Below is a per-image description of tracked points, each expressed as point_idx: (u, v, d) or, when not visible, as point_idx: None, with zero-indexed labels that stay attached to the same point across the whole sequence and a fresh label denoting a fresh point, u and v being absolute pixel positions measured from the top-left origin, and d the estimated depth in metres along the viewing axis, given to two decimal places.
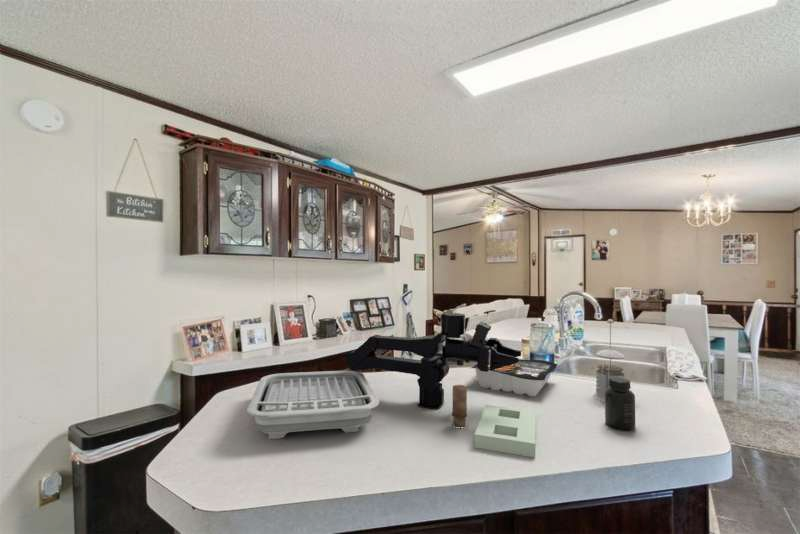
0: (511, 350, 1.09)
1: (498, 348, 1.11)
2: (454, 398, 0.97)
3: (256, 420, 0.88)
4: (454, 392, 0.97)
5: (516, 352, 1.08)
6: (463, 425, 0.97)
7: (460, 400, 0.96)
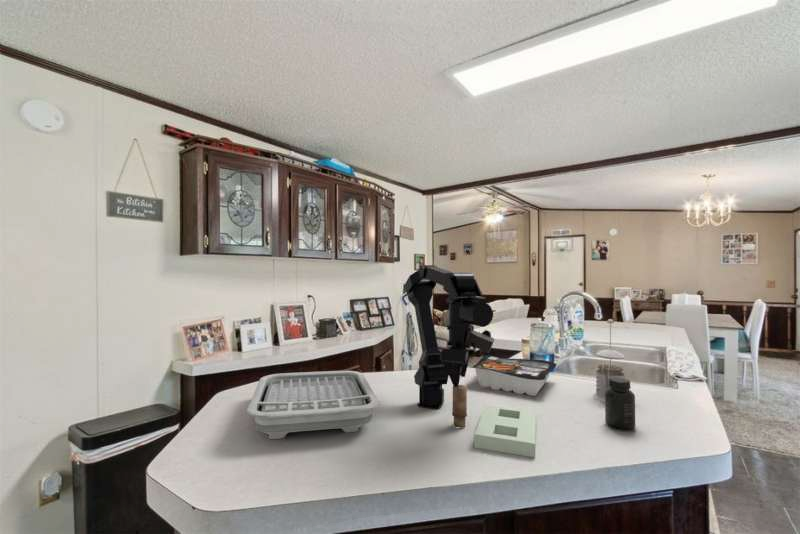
0: (465, 367, 1.02)
1: None
2: (454, 398, 0.97)
3: (256, 420, 0.87)
4: (454, 392, 0.97)
5: (464, 372, 1.02)
6: (463, 425, 0.97)
7: (460, 400, 0.96)
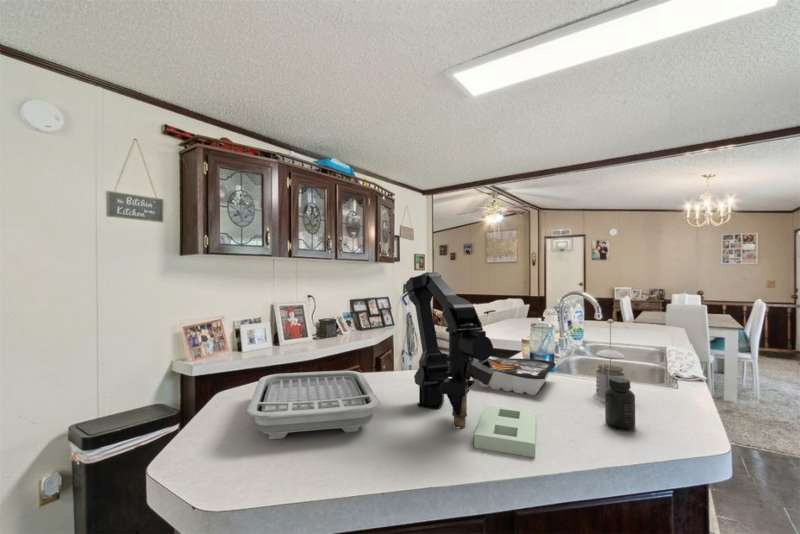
0: None
1: None
2: None
3: (256, 420, 0.87)
4: None
5: None
6: (463, 425, 0.97)
7: None
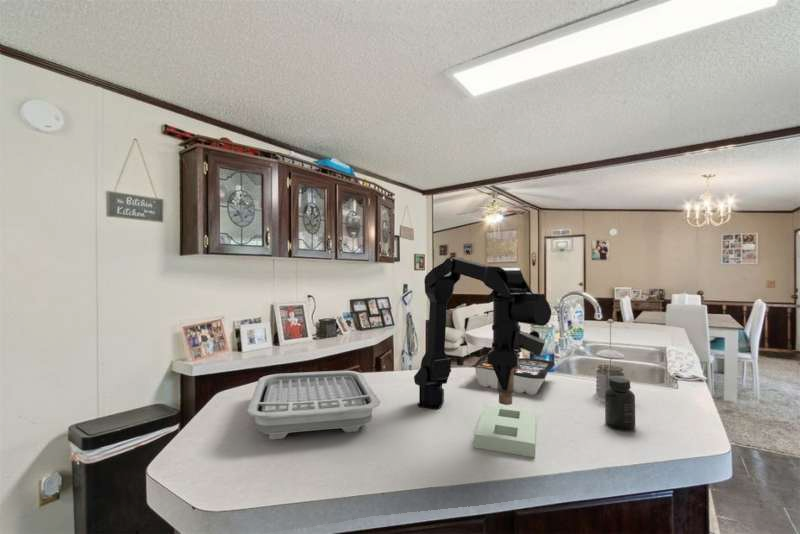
0: None
1: None
2: None
3: (257, 421, 0.87)
4: None
5: None
6: (510, 401, 0.87)
7: None
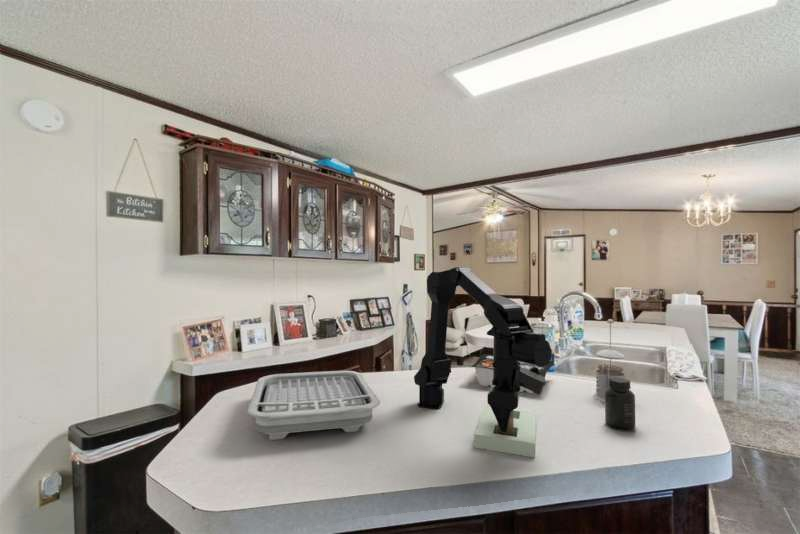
0: None
1: None
2: None
3: (257, 421, 0.87)
4: None
5: None
6: None
7: None
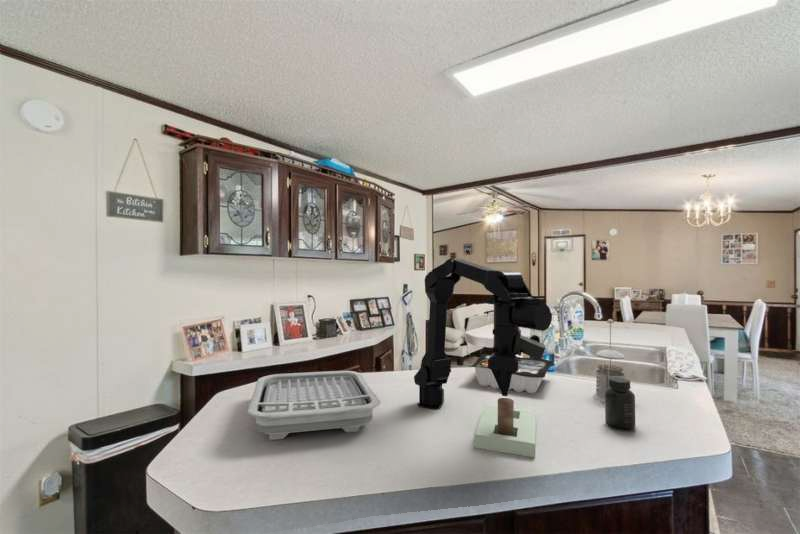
0: None
1: None
2: (500, 413, 0.87)
3: (257, 421, 0.87)
4: (500, 406, 0.87)
5: None
6: None
7: (508, 415, 0.86)
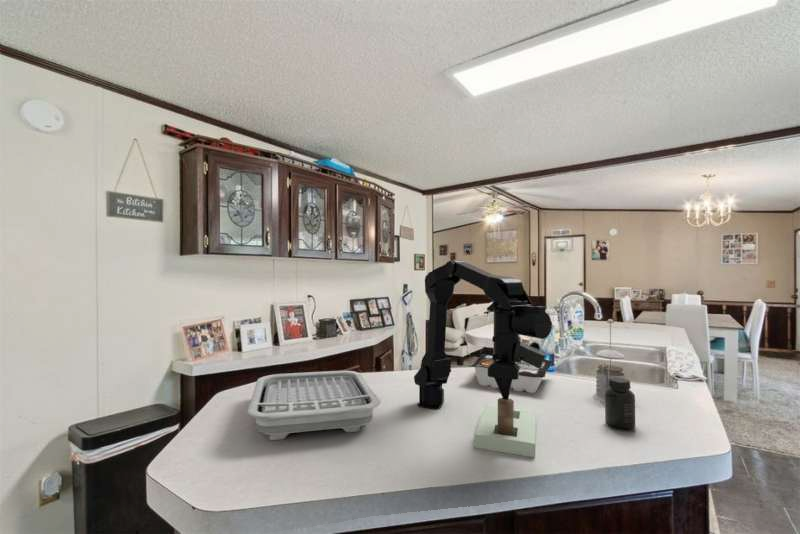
0: None
1: None
2: (500, 413, 0.87)
3: (257, 421, 0.87)
4: (500, 406, 0.87)
5: None
6: None
7: (508, 415, 0.86)
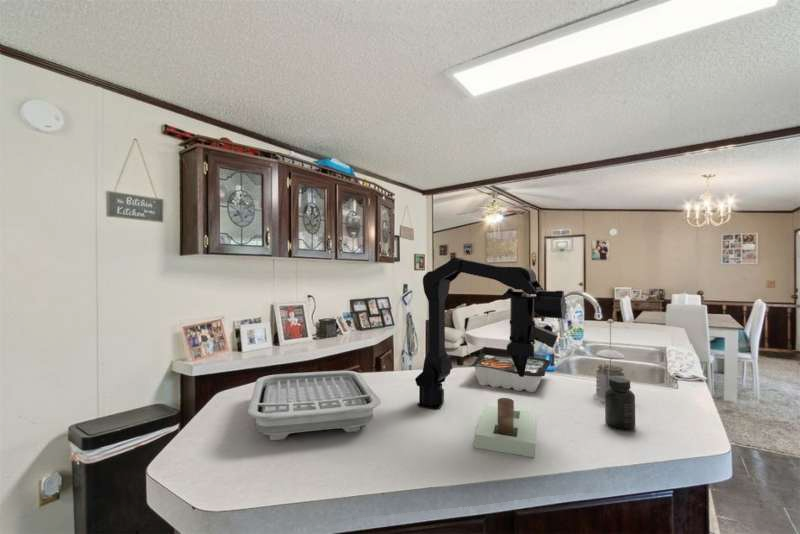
0: None
1: None
2: (500, 413, 0.87)
3: (257, 422, 0.87)
4: (500, 406, 0.87)
5: None
6: None
7: (508, 415, 0.86)
